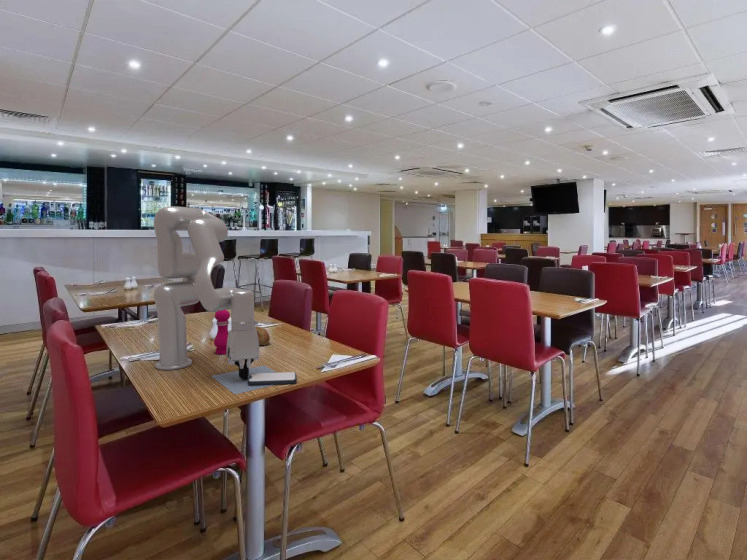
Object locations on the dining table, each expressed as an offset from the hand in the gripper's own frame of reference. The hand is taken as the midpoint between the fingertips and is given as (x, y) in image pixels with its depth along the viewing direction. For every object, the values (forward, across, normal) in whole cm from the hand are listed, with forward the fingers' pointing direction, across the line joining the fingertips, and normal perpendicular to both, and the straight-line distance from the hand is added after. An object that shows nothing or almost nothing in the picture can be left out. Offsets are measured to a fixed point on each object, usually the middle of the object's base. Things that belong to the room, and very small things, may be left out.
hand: (243, 378), depth 145 cm
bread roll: (+1, -24, -44) cm, 50 cm away
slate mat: (+1, -2, 0) cm, 2 cm away
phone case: (+1, -7, +7) cm, 10 cm away
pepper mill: (+1, -6, -38) cm, 38 cm away
